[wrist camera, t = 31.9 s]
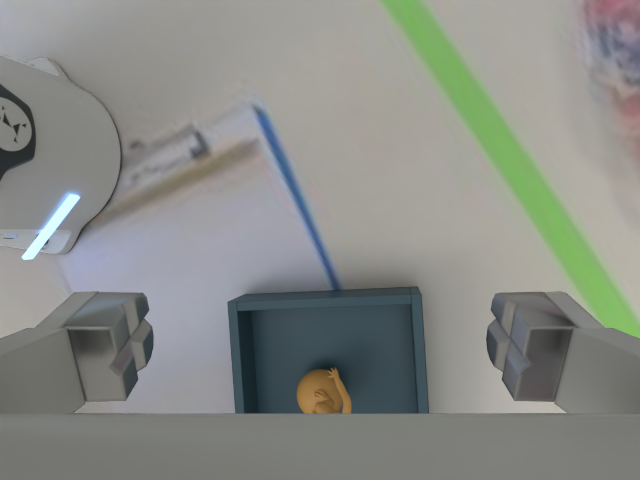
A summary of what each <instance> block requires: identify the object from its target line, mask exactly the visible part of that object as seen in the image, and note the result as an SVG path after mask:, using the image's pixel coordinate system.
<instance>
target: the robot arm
mask: <svg viewBox="0 0 640 480" xmlns="http://www.w3.org/2000/svg"><path fill="white" fill-rule="evenodd" d="M120 161H121V153H120V143H119V138H118V134H117V131H116V128H115V125H114V123H113V121H112V119H111V117H110V115H109V113H108V112H107V110H106V109H105V108H104V106H103V105H102V104H101V103H100V102H99V101H98V100H97V99H96V98H95V97H94V96H92V95H91V94H90V93H88V92H87V91H85V90H83V89H82V88H80V87H78V86H76V85H75V84H73V83H72V82H71V81H70V80H69V79H68V77H67V76H66V75H65V73H64V72H63V70H62V69H61V68H60V67H59V65H58V64H57V63H55V62H54V61H52V60H49V59H46V58H42V57H40V58H36V59H34V60H31V61H28V62H26V63H25V62H22V61H20V60H17V59H14V58H11V57H8V56H6V55H3V54H0V246H4V247H10V248H17V249H23V250H27V251H26V253H25V254H24V255H23V256H22V258H23V259H24V260H26V259H33V258H34V257H35V255H36V254H37V253H38V252H43V253H49V254H66V253H67V252H69V251H70V249H71V248H72V247H73V245H74V243H75V241H76V239H77V237H78V235H79V233H80V231H81V229H82V228H83V227H84V226H85V225H86V224H87V223H88V222H89V221H90V220H91V219H92V218H93V217H95V216H96V215H97V214H98V213H99V212H100V211H101V210H102V208H103V207H104V206H105V204H106V203H107V202H108V200H109V198H110V197H111V195H112V193H113V190H114V188H115V186H116V183H117V179H118V175H119V170H120ZM48 239H49V242H48V243H47V240H48ZM148 311H149V306H148V301H147V297H146V296H145V295H144V294H143V293H128V292H98V291H97V292H75V293H73V294H72V295H71V296H70V297H69V298H68V299H67V300H65V301H64V302H63V303H62V304H61V305H60V306H59V307H58V308H56V309H55V310H54V311H53V312H52V313H51V314H50V315H49V316H48V317H46V318H45V319H44V320H43V321H42V322H41V323H40V324H39V325H37V326H36V327H35V328H26V329H24V330H21V331H19V332H16V333H14V334H11V335H9V336H6V337H3V338H1V339H0V480H640V339H639V338H636V337H634V336H631V335H629V334H626V333H624V332H621V331H619V330H616V329H614V328H605V327H604V326H603V325H601V324H600V323H599V322H598V321H597V320H596V319H595V318H594V317H593V316H591V315H590V314H589V313H588V312H587V311H586V310H585V309H584V308H583V307H581V306H580V305H579V304H578V303H577V302H576V301H575V300H574V299H572V298H571V297H570V296H569V295H568V294H567V293H564V292H561V291H559V292H514V293H497V294H495V296H494V298H493V300H492V306H491V311H492V313H493V314H494V316H495V317H496V319H495V320H494V321H493V322H492V323H491V324H490V325H489V326H488V330H487V338H486V341H487V351H488V354H489V357H490V360H491V362H492V363H493V365H494V367H496V368H498V369H499V370H501V371H502V372H503V376H502V381H503V382H504V384H505V386H506V387H507V389H508V391H509V392H510V394H511V396H512V397H513V399H514V401H545V402H555V404H556V405H557V406H559V407H560V408H561V409H563V410H564V411H565V412H567V413H73V412H75V411H76V410H77V409H79V408H80V407H82V406H83V405H84V404H85V402H95V401H126V399H127V397H128V396H129V394H130V392H131V391H132V389H133V387H134V386H135V384H136V382H137V381H138V376H137V372H138V371H139V370H141V369H142V368H144V367H146V365H147V363H148V362H149V360H150V358H151V354H152V350H153V330H152V326H151V325H150V324H149V323H148V322H147V321H146V320H145V319H144V317H145V316H146V314H147V313H148Z"/></svg>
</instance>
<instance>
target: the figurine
mask: <svg viewBox="0 0 640 480" xmlns="http://www.w3.org/2000/svg"><path fill="white" fill-rule="evenodd" d="M334 368H335V367H334ZM331 370H332V372H331V371H328V370H325V369H316V370H313V371H310V372H309V373H307V374H306V375H305V376H304V377H303V378H302V379H301V381H300V383H299V385H298V388H297V401H298V404H299V406H300V408H301V410H302V411H303V412H304V413H340V412H339V410H340V408H341V407H342V405H343V409H342V413H351V399H350V396H349V394H348V393H347V391H346V389H345V387H344V385H343V383H342V381H341V380H340V378H339V374H338V371H337V369H336V368H335V370H333V369H332V368H331Z"/></svg>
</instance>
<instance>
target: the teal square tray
mask: <svg viewBox="0 0 640 480" xmlns="http://www.w3.org/2000/svg"><path fill="white" fill-rule="evenodd" d="M228 314H229V328H230V342H231V356H232V370H233V384H234V398H235V412H236V413H304V412H303V411H302V410H301V408H300V406H299V404H298V401H297V388H298V385H299V383H300V381H301V379H302V378H303V377H304V376H305V375H306V374H307V373H309V372H310V371H313V370H316V369H325V370H328V371H331V372H332V370H331V368H332V369H333V370H335V368H336V369H337V371H338V374H339V378H340V380H341V381H342V383H343V385H344V387H345V389H346V391H347V393H348V394H349V396H350V399H351V413H429V405H428V389H427V374H426V358H425V342H424V327H423V311H422V295H421V292H420V290H419V288H418V287H397V288H375V289H353V290H331V291H309V292H287V293H265V294H244V295H242V296H240V297H238V298H235V299H233V300H231V301H229V302H228ZM334 367H335V368H334ZM342 409H343V405H342V407H341V408H340V410H339V412H340V413H342Z"/></svg>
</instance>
